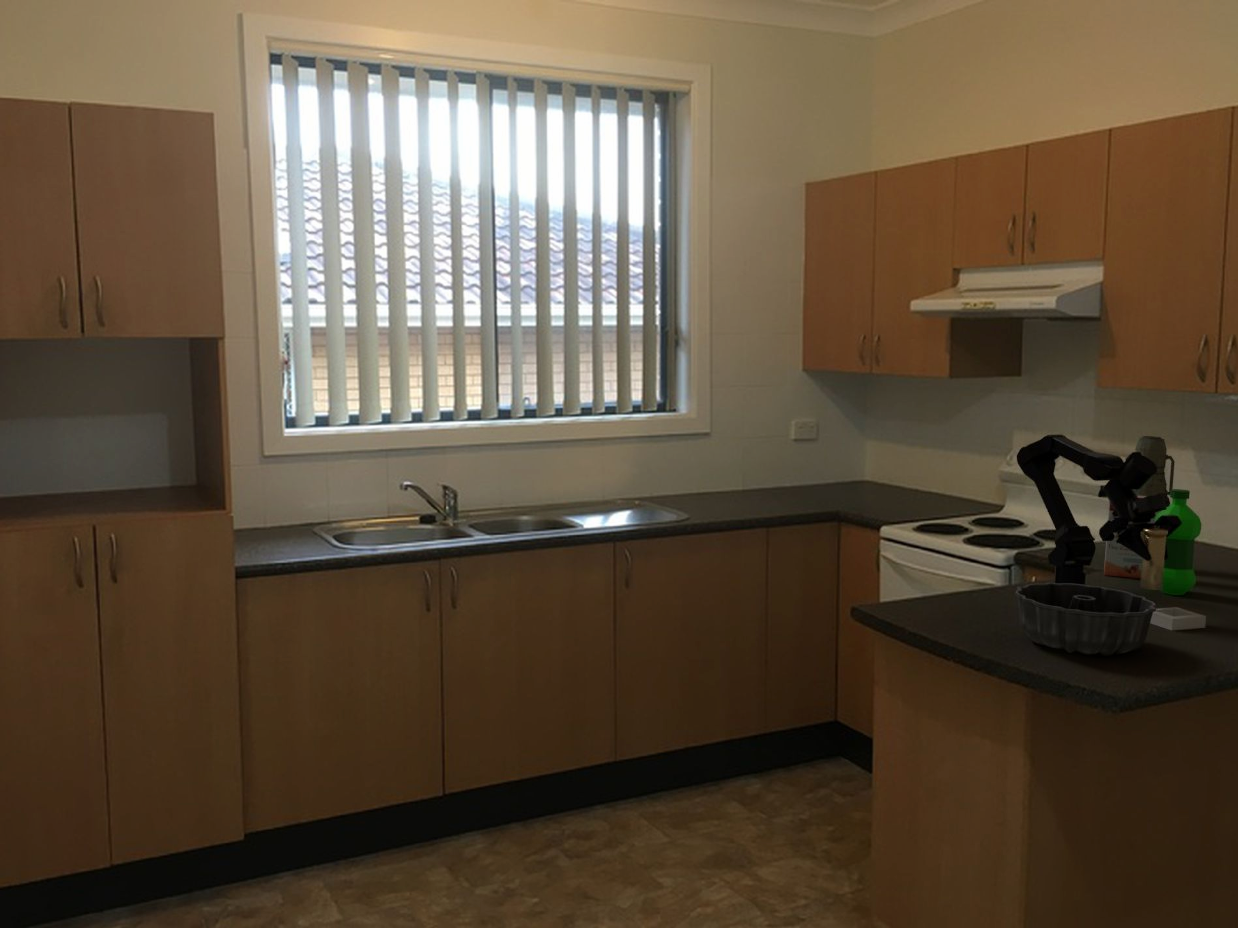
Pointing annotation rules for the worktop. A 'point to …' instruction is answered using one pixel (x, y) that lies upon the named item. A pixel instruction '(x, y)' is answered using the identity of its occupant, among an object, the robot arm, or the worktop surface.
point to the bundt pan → (1084, 617)
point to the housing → (1177, 619)
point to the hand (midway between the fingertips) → (1158, 559)
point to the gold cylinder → (1153, 558)
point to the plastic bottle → (1180, 545)
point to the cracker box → (1122, 555)
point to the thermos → (1157, 454)
